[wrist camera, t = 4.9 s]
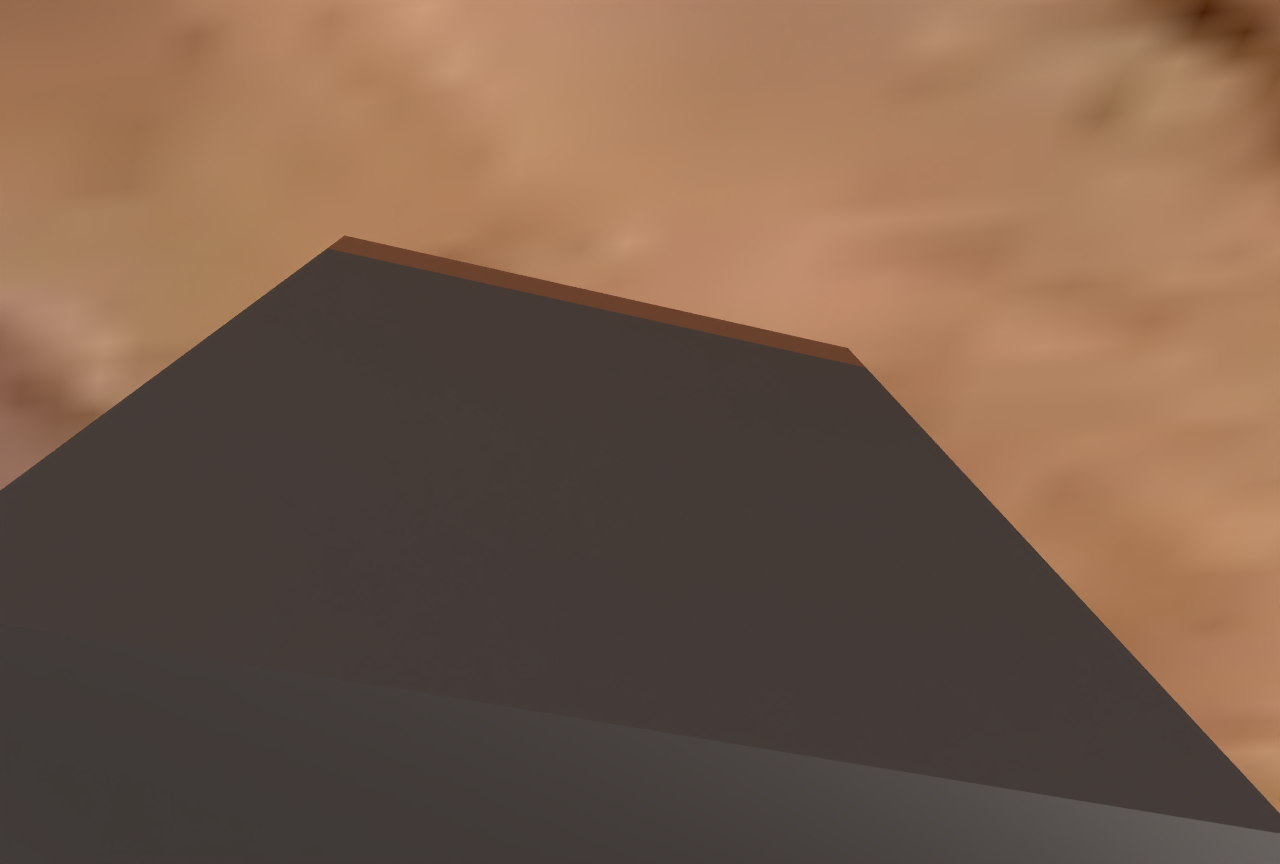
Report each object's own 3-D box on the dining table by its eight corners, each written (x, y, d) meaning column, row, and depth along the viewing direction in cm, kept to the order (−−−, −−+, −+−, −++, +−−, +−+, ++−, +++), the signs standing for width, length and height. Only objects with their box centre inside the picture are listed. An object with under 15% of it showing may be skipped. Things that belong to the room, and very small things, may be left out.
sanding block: (344, 235, 11) (-146, 598, 4) (848, 348, 12) (1301, 838, 4) (267, 799, 14) (-107, 1681, 6) (682, 859, 15) (792, 1707, 7)
